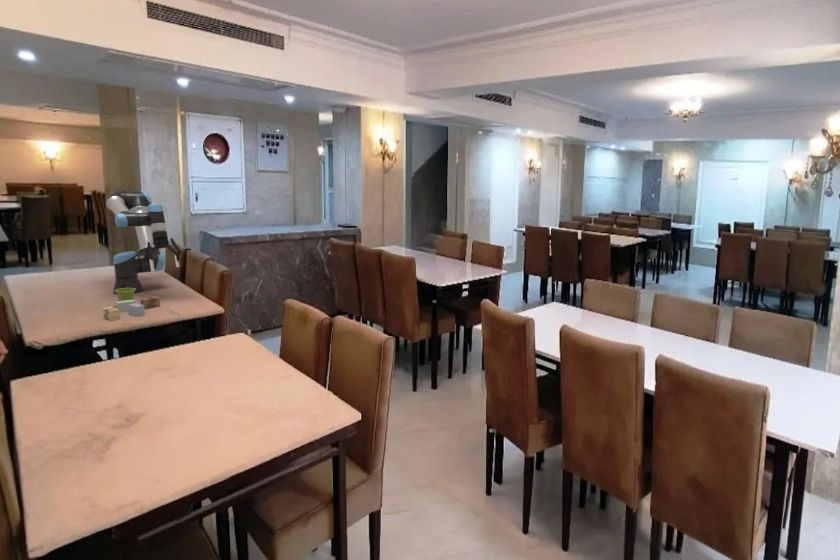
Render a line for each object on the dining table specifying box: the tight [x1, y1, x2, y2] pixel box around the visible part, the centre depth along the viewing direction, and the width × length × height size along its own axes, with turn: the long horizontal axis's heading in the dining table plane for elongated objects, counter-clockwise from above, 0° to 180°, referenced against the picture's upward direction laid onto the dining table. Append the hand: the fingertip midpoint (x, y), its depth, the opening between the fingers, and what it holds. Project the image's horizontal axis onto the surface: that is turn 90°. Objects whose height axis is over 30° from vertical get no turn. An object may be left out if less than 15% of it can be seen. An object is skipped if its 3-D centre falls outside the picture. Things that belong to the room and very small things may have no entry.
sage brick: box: [115, 299, 136, 313], centre depth 262 cm, size 8×4×5 cm, turn 124°
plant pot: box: [115, 288, 136, 301], centre depth 271 cm, size 9×9×9 cm
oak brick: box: [102, 306, 121, 321], centre depth 248 cm, size 8×4×5 cm, turn 55°
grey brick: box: [128, 302, 146, 317], centre depth 256 cm, size 8×4×5 cm, turn 55°
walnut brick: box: [139, 295, 161, 310], centre depth 269 cm, size 8×4×5 cm, turn 146°
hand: (165, 269), depth 280 cm, fingers open, 13 cm apart
